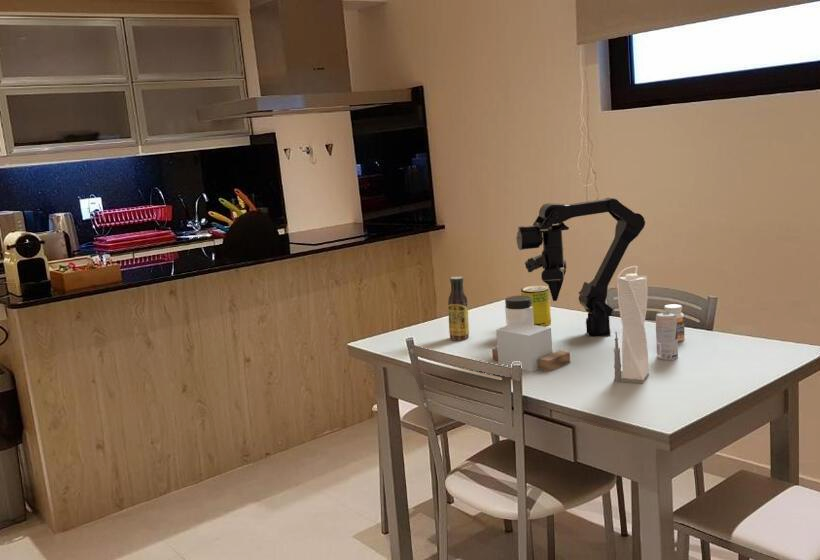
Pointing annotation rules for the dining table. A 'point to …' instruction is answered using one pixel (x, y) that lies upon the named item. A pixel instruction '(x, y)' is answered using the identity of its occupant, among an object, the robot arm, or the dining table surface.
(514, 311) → the jar
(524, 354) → the block
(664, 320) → the energy drink
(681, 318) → the pill bottle
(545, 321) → the yellow can
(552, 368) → the pair of brown bars
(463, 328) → the sauce bottle
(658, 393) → the dining table surface
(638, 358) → the skyscraper
